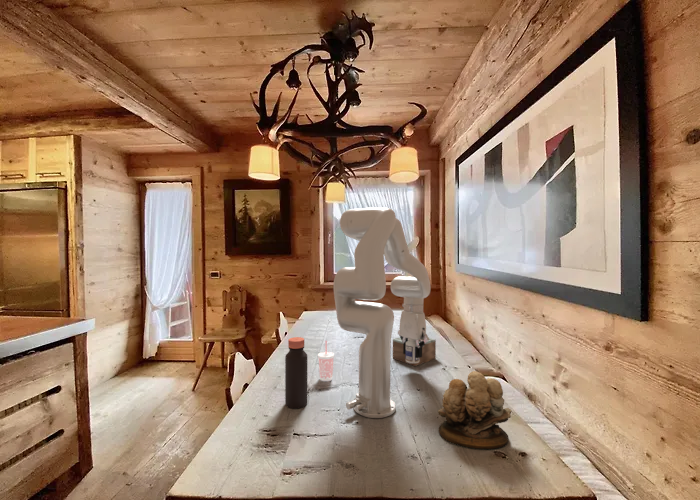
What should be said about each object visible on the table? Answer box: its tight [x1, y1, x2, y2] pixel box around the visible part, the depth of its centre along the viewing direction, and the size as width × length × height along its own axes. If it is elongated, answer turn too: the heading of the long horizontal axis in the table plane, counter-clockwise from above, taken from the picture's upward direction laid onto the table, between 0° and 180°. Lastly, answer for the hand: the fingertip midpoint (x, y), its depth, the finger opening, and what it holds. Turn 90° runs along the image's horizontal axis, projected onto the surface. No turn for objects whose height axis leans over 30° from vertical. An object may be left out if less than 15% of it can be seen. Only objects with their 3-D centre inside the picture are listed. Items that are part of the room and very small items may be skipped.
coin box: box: [392, 336, 437, 367], centre depth 142 cm, size 14×12×8 cm
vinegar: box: [284, 336, 308, 410], centre depth 101 cm, size 7×7×20 cm
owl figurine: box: [437, 370, 513, 451], centre depth 84 cm, size 18×12×17 cm, turn 83°
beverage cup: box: [317, 340, 335, 382], centre depth 120 cm, size 6×6×14 cm
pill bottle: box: [405, 338, 420, 363], centre depth 127 cm, size 5×5×10 cm
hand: (412, 354), depth 127 cm, fingers closed on pill bottle, 5 cm apart
